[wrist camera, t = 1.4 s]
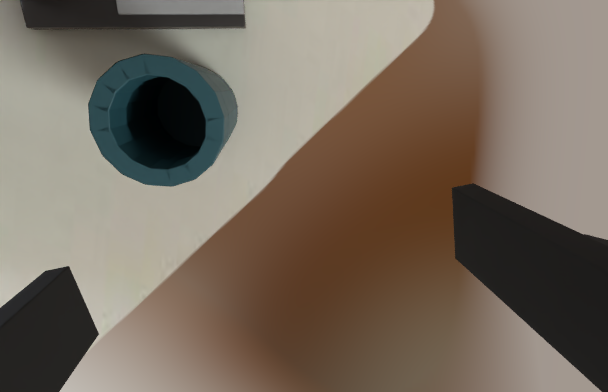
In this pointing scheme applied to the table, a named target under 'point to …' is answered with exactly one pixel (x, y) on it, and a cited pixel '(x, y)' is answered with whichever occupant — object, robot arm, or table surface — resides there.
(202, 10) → the coffee maker
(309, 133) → the table surface
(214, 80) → the teal tumbler
